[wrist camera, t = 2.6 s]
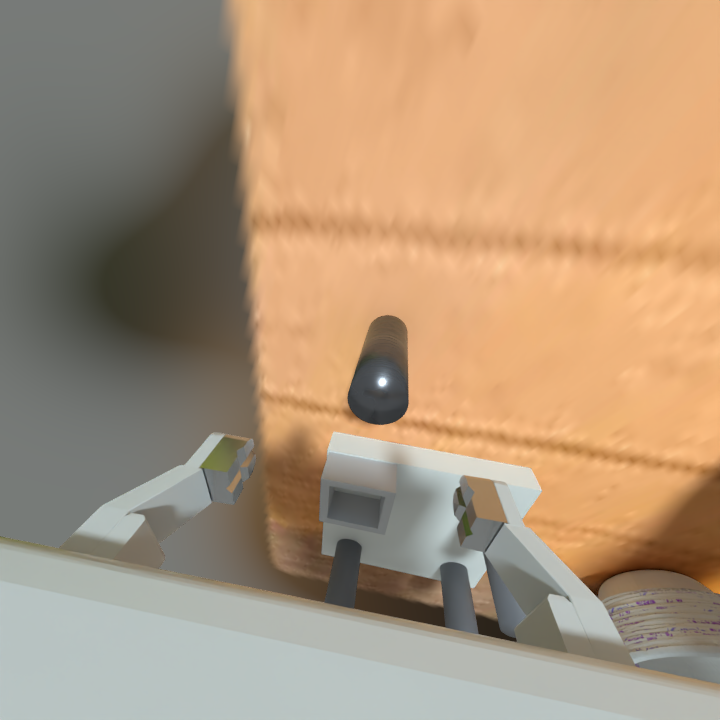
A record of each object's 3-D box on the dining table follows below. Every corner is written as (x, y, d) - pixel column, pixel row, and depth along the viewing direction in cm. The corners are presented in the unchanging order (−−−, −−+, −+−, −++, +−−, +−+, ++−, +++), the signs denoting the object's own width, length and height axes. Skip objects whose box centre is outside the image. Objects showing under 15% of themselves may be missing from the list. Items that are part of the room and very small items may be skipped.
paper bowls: (546, 586, 36) (579, 674, 29) (657, 538, 29) (737, 641, 22) (635, 626, 37) (687, 719, 31) (762, 590, 30) (869, 702, 23)
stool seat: (530, 468, 26) (607, 622, 16) (469, 565, 36) (493, 699, 26) (333, 431, 28) (293, 552, 18) (326, 534, 38) (298, 649, 28)
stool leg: (415, 332, 21) (421, 401, 14) (389, 358, 23) (380, 433, 15) (385, 307, 21) (373, 363, 13) (360, 335, 22) (336, 401, 14)
